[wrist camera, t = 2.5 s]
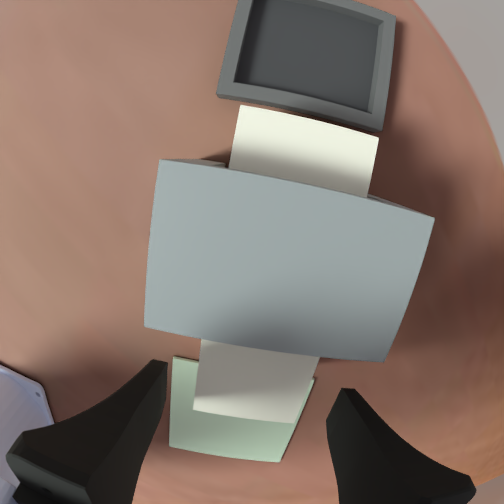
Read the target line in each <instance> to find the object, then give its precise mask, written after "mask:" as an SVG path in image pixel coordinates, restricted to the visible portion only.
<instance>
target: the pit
mask: <svg viewBox="0 0 504 504" xmlns="http://www.w3.org/2000/svg"><path fill="white" fill-rule="evenodd" d="M395 23H396V16H395V15H392V14H389V13H387V12H384V11H382V10H379V9H376V8H373V7H370V6H368V5H365V4H362V3H359V2H355V1H352V0H238V4H237V7H236V11H235V15H234V19H233V23H232V27H231V31H230V35H229V39H228V43H227V47H226V51H225V56H224V60H223V64H222V69H221V73H220V78H219V82H218V87H217V92H216V94H217V96H218V97H219V98H223V99H230V100H236V101H243V102H249V103H254V104H260V105H266V106H271V107H276V108H281V109H286V110H290V111H295V112H300V113H304V114H308V115H312V116H317V117H321V118H325V119H329V120H332V121H336V122H340V123H343V124H347V125H351V126H354V127H358V128H361V129H364V130H368V131H371V132H379V131H382V129H383V123H384V117H385V110H386V104H387V97H388V90H389V82H390V74H391V66H392V57H393V47H394V36H395Z"/></svg>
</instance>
